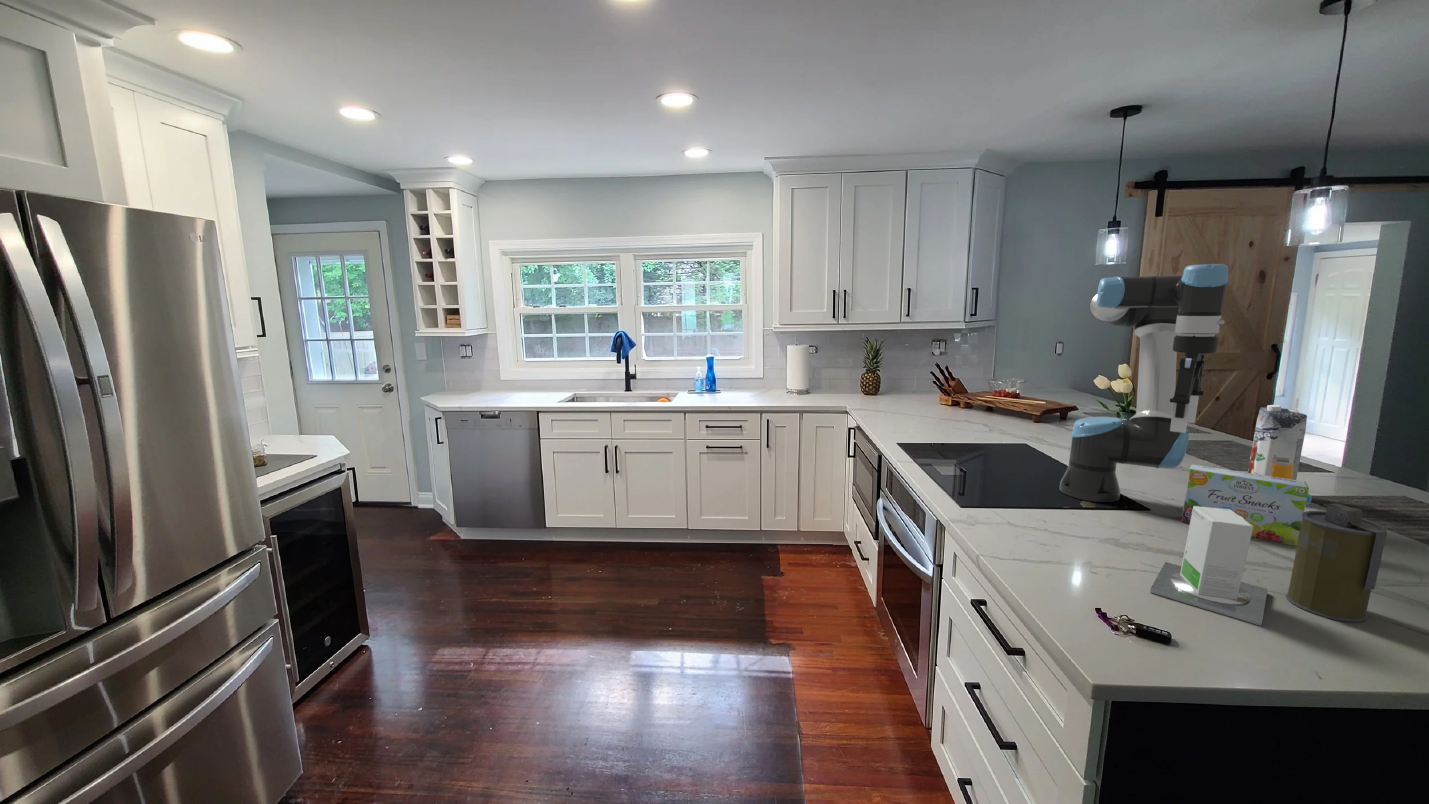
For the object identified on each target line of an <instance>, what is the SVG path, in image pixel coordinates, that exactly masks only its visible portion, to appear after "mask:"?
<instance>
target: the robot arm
mask: <svg viewBox="0 0 1429 804" xmlns="http://www.w3.org/2000/svg"><path fill="white" fill-rule="evenodd" d="M1182 273H1183V274H1182V275H1181V274H1180V275H1160V276H1159V275H1156V276H1155V275H1154V276H1112V277H1103V278H1101V279H1100V281H1099V282H1098V283H1099V284H1098V286H1097V293H1096V294H1095V295H1094V296H1093V297H1092V299H1091V300H1090V303H1089V311H1090V314H1091V316H1092V317H1093V318H1094V319H1096V320H1097V321H1099V322H1101V323H1102V324H1105V325H1109V326H1114V327H1122V328H1123V327H1125V328H1134V329H1133V331H1134V335H1135V336H1136V337H1138V338H1139V358H1138V372H1137V373H1138V377H1137V393H1136V409H1135V414H1134V415H1133V416H1131V417H1130V418H1129V419H1128V420H1129V421H1128V423H1123V420H1122V419H1121V418H1120V417H1113V416H1112V417H1110V416H1089V417H1083V418H1079V419H1077V420H1076V421H1075V422H1073V428H1072V432H1071V443H1070V451H1069V459H1068V461H1069V462H1068V466H1067V468H1066V470H1065V472H1064V474H1063V476H1062V478H1061V479H1060V482H1059V491H1060V492H1061V493H1063V494H1064V495H1066V496H1069V497H1071V498H1075V499H1077V500H1084V501H1090V502H1097V503H1111V502H1112V503H1113V502H1117V501H1119V500H1120V498H1121V488H1120V485H1119V481H1118V477H1117V474H1116V469H1117V464H1123V465H1129V466H1140V467H1146V468H1147V467H1149V468H1155V469H1169V470H1170V469H1176V468H1178V467H1179V466H1180V465H1181V463H1182V462H1183V460H1184V457H1185V455H1186V454H1187V449H1188V445H1189V439H1190V435H1189V433H1190V430H1189V429H1188V423H1189V424H1195V423H1196V417H1197V411H1198V405H1199V399H1200V398H1199V397H1200V396H1201V397H1202V396H1204V391H1203V390H1202V379H1203V378H1202V376H1203V372H1204V367H1205V362H1206V361H1205V360H1204V359H1205V355H1206V354H1215V353H1216V352H1217V349H1218V344H1219V337H1218V336H1215V335H1217V334H1219V333H1220V328H1221V327H1220V326H1221V325H1224V324H1225V320H1224V319H1222V315H1223V308H1224V302H1225V296H1226V290H1227V285H1228V282H1229V277H1228V275H1229V267H1228V265H1226V264H1225V263H1210V264H1209V263H1208V264H1207V263H1206V264H1205V263H1204V264H1192V265H1191V264H1190V265H1187V266H1185V267H1184V269H1183V272H1182ZM1178 353H1184V354H1185V355H1184V357H1182V358H1180V360H1179V363H1178V365H1179V371H1178V372H1177V358H1178V357H1177V355H1178ZM1177 373H1178V374H1177Z"/></svg>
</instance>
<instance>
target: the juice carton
mask: <svg viewBox="0 0 1429 804" xmlns="http://www.w3.org/2000/svg"><path fill="white" fill-rule="evenodd" d="M1307 418H1308V415H1307V414H1305V413H1301V412H1299V411H1298V410H1297V409H1293V408H1283V407H1282V405H1278V404H1270V405H1269V404H1267V406H1264V407H1260V408H1259V411H1258V415H1257V418H1256V423H1255V428H1254V435H1253V440H1252V445H1251V447H1252V448H1251V451H1250V458H1249V464H1248V471H1247V473H1252V474H1259V475H1265V476H1270V473H1271V467H1272V462H1275V461H1277V462H1286V463H1291V464H1293V465H1294V469H1293V475H1292V480H1297V477H1298V473H1299V472H1298V471H1299V468H1300V463H1301V462H1300V461H1301V456H1302V451H1303V446H1304V440H1305V436H1306V429H1307V422H1308V421H1307Z"/></svg>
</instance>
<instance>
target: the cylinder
mask: <svg viewBox="0 0 1429 804" xmlns="http://www.w3.org/2000/svg"><path fill="white" fill-rule="evenodd" d="M1293 469H1294V465H1293V464H1291V463H1286V462H1277V461H1275V462H1272V467H1271V473H1270V476H1272V477H1279V478H1285V479H1292V475H1293ZM1311 502H1312V495H1311V494H1309V492H1308V496H1307V500H1306V505H1305V506H1307V505H1309V504H1311Z"/></svg>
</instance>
